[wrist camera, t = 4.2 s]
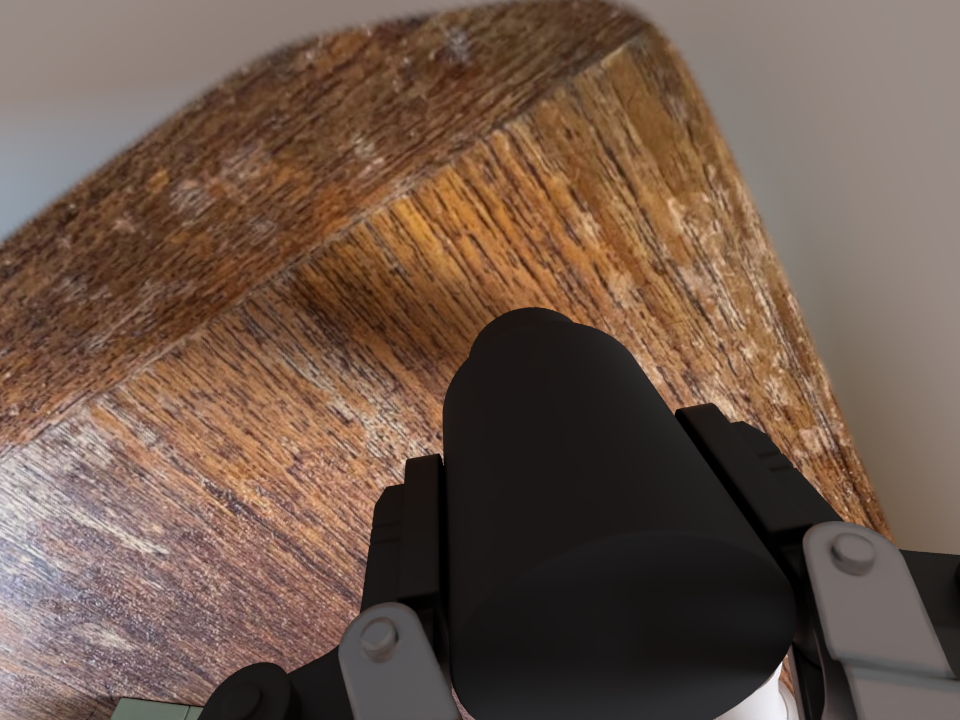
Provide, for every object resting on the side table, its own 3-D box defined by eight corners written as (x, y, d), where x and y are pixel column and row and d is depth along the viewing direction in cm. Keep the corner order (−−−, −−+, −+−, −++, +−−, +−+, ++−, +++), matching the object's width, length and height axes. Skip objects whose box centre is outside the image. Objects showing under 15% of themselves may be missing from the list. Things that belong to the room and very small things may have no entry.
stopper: (418, 411, 17) (405, 735, 9) (475, 255, 14) (531, 495, 6) (570, 449, 18) (685, 767, 10) (645, 311, 16) (874, 573, 7)
